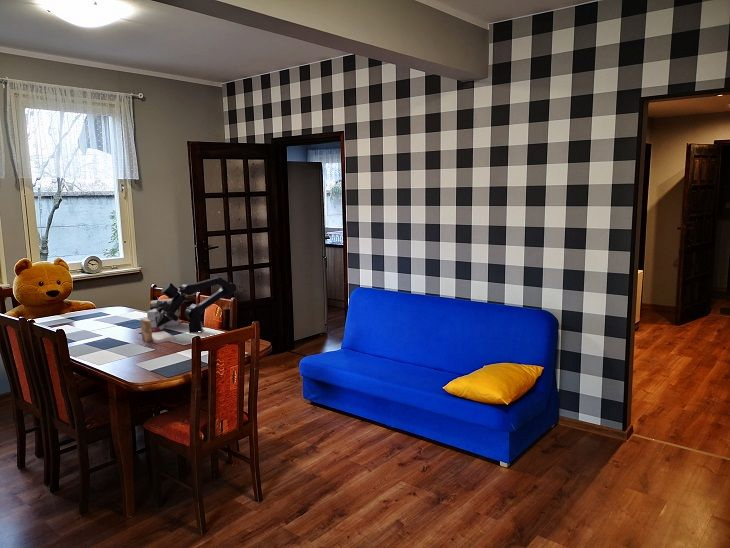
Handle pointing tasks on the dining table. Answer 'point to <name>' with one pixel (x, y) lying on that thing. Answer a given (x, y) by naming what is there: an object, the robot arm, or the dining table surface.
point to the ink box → (154, 320)
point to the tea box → (171, 323)
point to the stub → (146, 330)
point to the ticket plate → (162, 337)
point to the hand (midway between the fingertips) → (157, 326)
